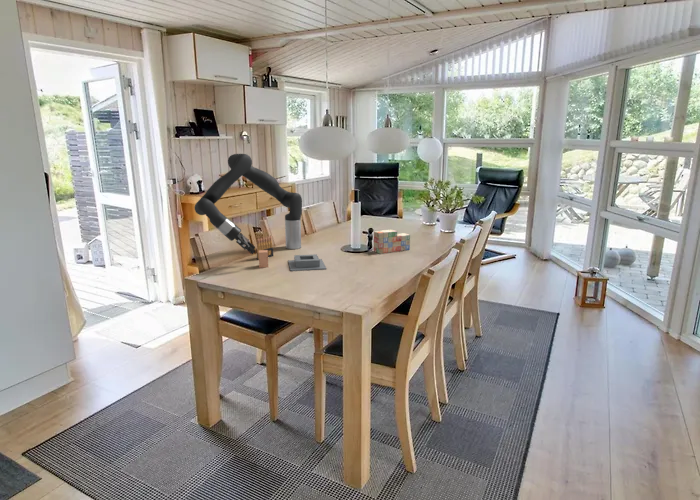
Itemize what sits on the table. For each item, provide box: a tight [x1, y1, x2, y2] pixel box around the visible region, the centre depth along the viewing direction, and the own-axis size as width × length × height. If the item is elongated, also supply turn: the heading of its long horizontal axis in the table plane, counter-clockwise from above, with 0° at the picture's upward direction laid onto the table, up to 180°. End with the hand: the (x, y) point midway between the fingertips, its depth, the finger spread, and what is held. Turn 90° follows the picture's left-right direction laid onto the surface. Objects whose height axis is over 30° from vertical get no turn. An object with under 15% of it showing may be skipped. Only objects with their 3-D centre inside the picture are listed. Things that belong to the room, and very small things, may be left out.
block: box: [258, 250, 269, 269], centre depth 227 cm, size 4×4×8 cm
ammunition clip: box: [256, 235, 274, 261], centre depth 243 cm, size 11×2×12 cm, turn 143°
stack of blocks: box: [373, 229, 411, 254], centre depth 261 cm, size 21×6×12 cm, turn 116°
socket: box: [287, 253, 327, 272], centre depth 230 cm, size 18×18×4 cm
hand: (253, 250), depth 225 cm, fingers open, 8 cm apart
